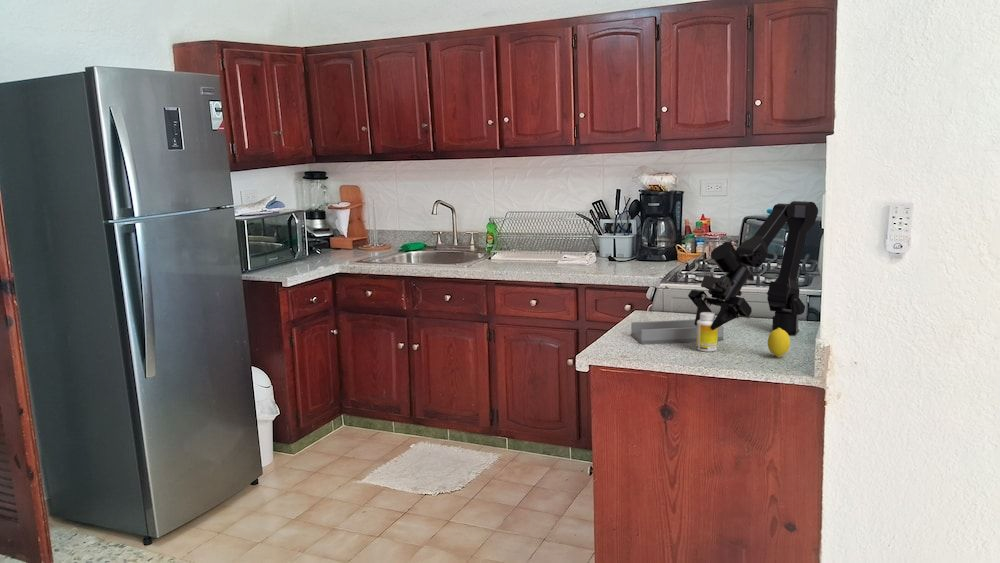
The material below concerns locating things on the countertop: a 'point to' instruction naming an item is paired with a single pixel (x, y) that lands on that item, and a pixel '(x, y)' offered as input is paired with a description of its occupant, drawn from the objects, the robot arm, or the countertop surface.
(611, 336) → the countertop surface
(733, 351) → the countertop surface
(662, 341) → the cable duct
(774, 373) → the countertop surface
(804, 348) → the countertop surface
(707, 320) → the supplement bottle
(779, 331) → the lemon
